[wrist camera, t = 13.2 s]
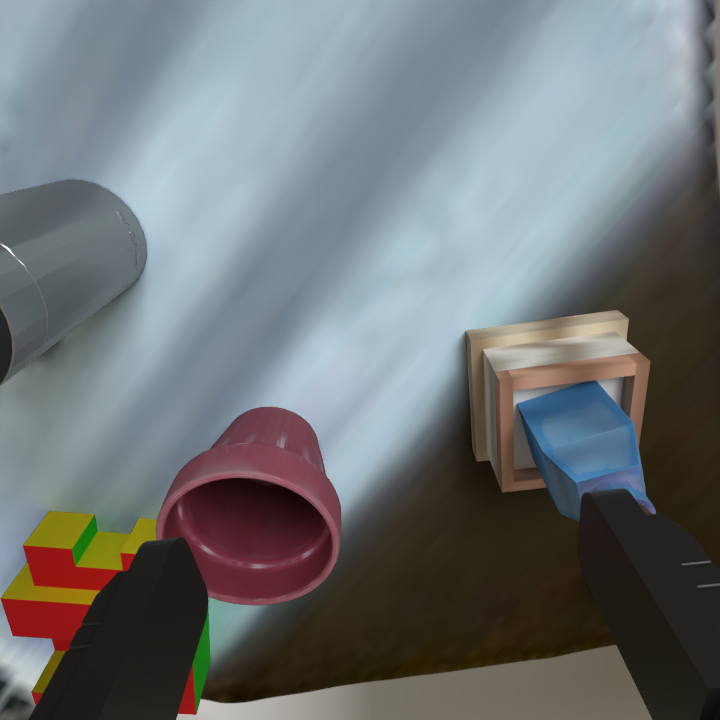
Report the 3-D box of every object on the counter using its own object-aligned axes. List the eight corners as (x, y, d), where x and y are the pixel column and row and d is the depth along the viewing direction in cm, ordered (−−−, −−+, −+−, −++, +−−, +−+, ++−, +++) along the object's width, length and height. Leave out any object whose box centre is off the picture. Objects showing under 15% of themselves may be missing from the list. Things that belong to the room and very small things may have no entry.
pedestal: (472, 448, 49) (490, 502, 42) (465, 330, 43) (485, 371, 36) (605, 432, 48) (645, 485, 41) (617, 310, 42) (666, 347, 35)
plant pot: (359, 485, 51) (359, 594, 39) (231, 509, 52) (196, 620, 41) (322, 367, 44) (310, 456, 33) (178, 398, 46) (119, 493, 34)
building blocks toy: (205, 521, 53) (138, 701, 37) (211, 659, 65) (161, 844, 48) (28, 506, 52) (-121, 685, 36) (65, 650, 64) (-36, 835, 47)
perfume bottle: (594, 378, 38) (686, 482, 27) (606, 438, 41) (695, 554, 30) (516, 403, 39) (576, 513, 28) (533, 460, 42) (594, 580, 31)
